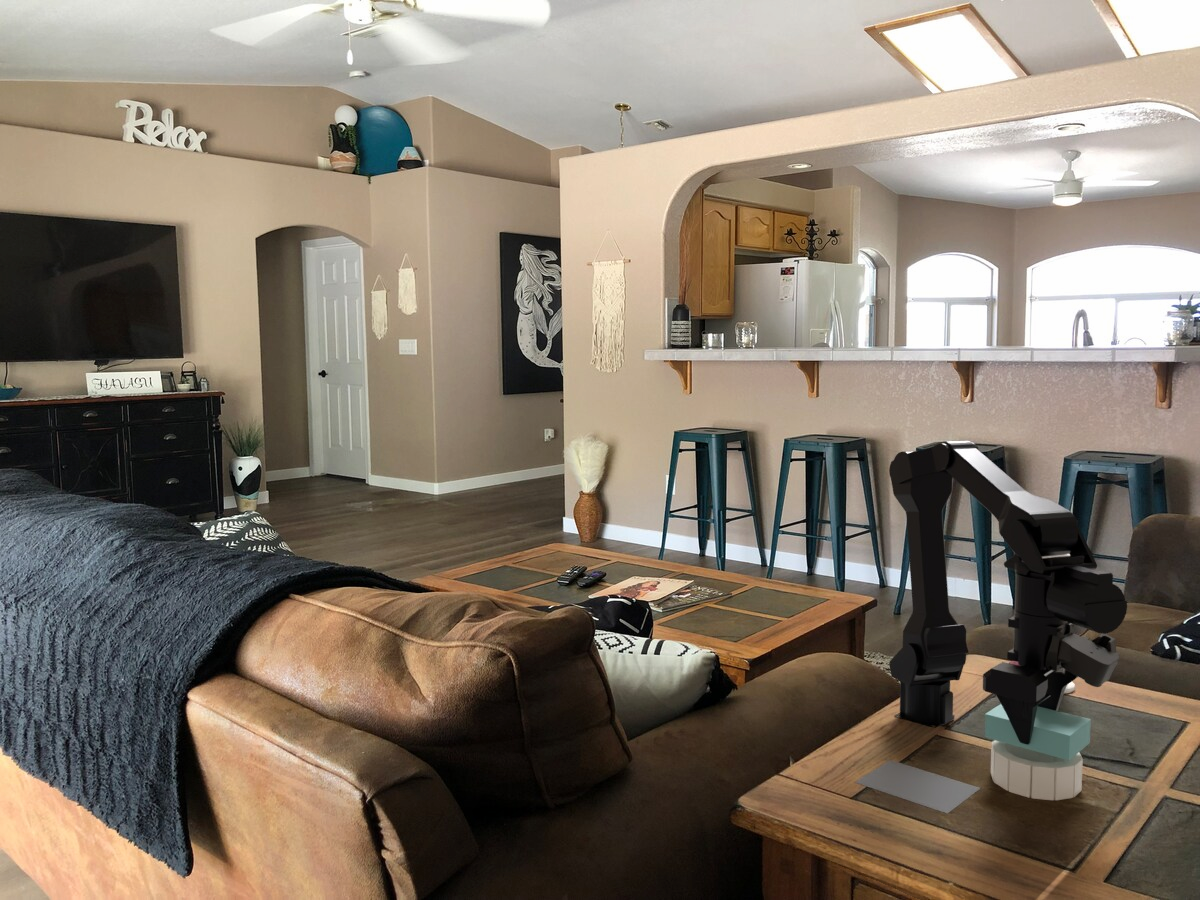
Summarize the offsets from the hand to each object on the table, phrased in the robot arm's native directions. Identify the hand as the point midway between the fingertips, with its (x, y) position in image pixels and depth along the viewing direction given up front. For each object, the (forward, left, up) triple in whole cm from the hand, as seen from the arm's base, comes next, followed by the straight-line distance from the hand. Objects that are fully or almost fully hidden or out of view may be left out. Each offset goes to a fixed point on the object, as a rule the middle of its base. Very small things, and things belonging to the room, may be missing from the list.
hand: (1036, 734), depth 118 cm
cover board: (0, 0, -1) cm, 1 cm away
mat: (-10, -11, -6) cm, 16 cm away
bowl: (0, 0, -6) cm, 7 cm away
